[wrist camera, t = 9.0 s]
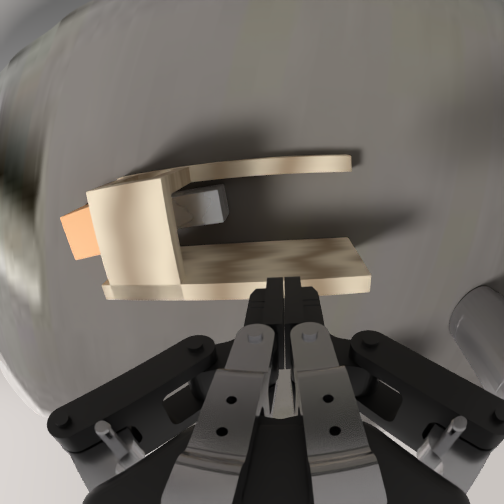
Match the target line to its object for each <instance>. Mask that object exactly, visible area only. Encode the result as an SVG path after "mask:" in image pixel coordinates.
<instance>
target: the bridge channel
mask: <svg viewBox="0 0 504 504" xmlns="http://www.w3.org/2000/svg"><path fill="white" fill-rule="evenodd" d="M313 172H352V170H351V155H347V154H343V155H302V156H282V157H267V158H254V159H242V160H232V161H222V162H214V163H205V164H197V165H190V166H183V167H176V168H169V169H163V170H157V171H151V172H145V173H139V174H134V175H129V176H124V177H121V178H118V180H116V181H113V182H111V183H108V184H105V185H103V186H100V187H98V188H95V189H92V190H90V191H87V192H86V195H87V200H88V205H89V209H90V214H91V218H92V222H93V227H94V231H95V235H96V239H97V242H98V246H99V250H100V253H101V257H102V260H103V264H104V267H105V270H106V274H107V277H108V280H107V281H106V282H105V283H104V284H103V285H102V287H103V290H104V293H105V296H106V299H110V300H235V299H249V298H250V294H251V293H252V292H253V291H254V290H255V289H260V288H266V283H267V278H270V277H283V287H284V277H294V276H300V279H301V287H309V286H312V287H313V288H314V289H315V290H316V291H317V292H318V295H319V296H323V295H337V294H351V293H363V292H370V283H371V274H370V272H369V271H368V269H367V267H366V266H365V264H364V262H363V261H362V259H361V257H360V256H359V254H358V253H357V251H356V249H355V248H354V246H353V245H352V243H351V241H350V240H349V238H348V237H341V238H321V239H302V240H283V241H265V242H247V243H230V244H213V245H197V246H181V247H180V244H179V238H178V233H177V227H176V222H175V216H174V210H173V204H172V198H171V194H172V193H174V192H175V191H177V190H179V189H180V188H182V187H184V186H185V185H187V184H189V183H190V182H197V181H205V180H215V179H225V178H235V177H247V176H259V175H274V174H291V173H313Z"/></svg>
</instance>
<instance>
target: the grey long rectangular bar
mask: <svg viewBox="0 0 504 504" xmlns="http://www.w3.org/2000/svg"><path fill="white" fill-rule="evenodd" d="M171 198H172V204H173V210H174V216H175V222H176V227H177V229H180V228H186V227H193V226H200V225H207V224H215V223H222V222H224V221H225V219H226V217H227V216H228V214H229V208H228V203H227V197H226V192H225V186H224V184H219V185H213V186H207V187H201V188H195V189H190V190H184V191H179V192H174V193H172V194H171Z"/></svg>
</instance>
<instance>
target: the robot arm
mask: <svg viewBox="0 0 504 504" xmlns="http://www.w3.org/2000/svg"><path fill="white" fill-rule="evenodd" d="M284 298H285V315H284ZM449 330H450V333H451V335H452V337H453V338H454V340H455V341H456V343H457V344H458V346H459V347H460V349H461V351H462V352H463V354H464V355H465V357H466V359H467V360H468V362H469V364H470V365H471V367H472V368H473V370H474V372H475V373H476V375H477V377H478V379H479V380H480V382H481V384H482V386H483V387H484V389H485V390H484V389H483V388H481V387H479V386H477V385H475V384H473V383H471V382H469V381H468V380H466V379H464V378H462V377H460V376H458V375H456V374H455V373H453V372H451V371H449V370H447V369H445V368H444V367H442V366H440V365H438V364H436V363H434V362H432V361H431V360H429V359H427V358H425V357H423V356H421V355H420V354H418V353H416V352H414V351H412V350H410V349H409V348H407V347H405V346H403V345H401V344H400V343H398V342H396V341H394V340H392V339H390V338H389V337H387V336H385V335H383V334H381V333H379V332H376V331H370V330H366V331H361V332H358V333H356V334H355V335H354V336H353V337H352V339H351V340H348V339H341V338H337V337H335V336H333V335H331V334H330V333H329V331H328V329H327V328H326V327H325V326H324V321H323V315H322V310H321V306H320V300H319V295H318V292H317V291H316V290H315V289H314V288H313V287H312V286H309V287H301V279H300V276H294V277H284V287H283V277H270V278H267V283H266V288H260V289H255V290H254V291H253V292H252V293H251V294H250V298H249V303H248V309H247V313H246V318H245V323H244V327H243V328H241V329H240V330H239V331H238V332H237V334H236V337H235V339H233V340H231V341H229V342H225V343H220V344H215V343H214V341H213V340H212V339H211V338H210V337H207V336H203V335H195V336H191V337H188V338H186V339H184V340H182V341H180V342H179V343H177V344H175V345H174V346H172V347H170V348H168V349H167V350H165V351H163V352H161V353H160V354H158V355H156V356H154V357H153V358H151V359H149V360H147V361H146V362H144V363H142V364H140V365H138V366H137V367H135V368H133V369H131V370H129V371H128V372H126V373H124V374H122V375H120V376H119V377H117V378H115V379H113V380H111V381H109V382H107V383H106V384H104V385H102V386H100V387H98V388H96V389H94V390H92V391H91V392H89V393H87V394H85V395H83V396H81V397H79V398H77V399H75V400H73V401H71V402H69V403H67V404H65V405H63V406H61V407H59V408H58V409H56V410H55V411H53V412H52V413H51V415H50V416H49V418H48V421H47V428H48V431H49V433H50V434H51V435H52V436H53V437H54V438H55V439H56V440H57V441H58V442H59V443H60V444H61V446H62V447H63V449H64V450H65V451H66V452H67V453H69V454H70V456H71V458H72V460H73V462H74V464H75V466H76V468H77V470H78V472H79V474H80V476H81V478H82V480H83V481H84V483H85V485H86V487H87V489H88V490H89V494H88V495H87V496H86V498H85V499H84V501H83V504H470V502H469V499H468V497H467V496H466V493H467V492H468V490H469V489H470V487H471V486H472V484H473V482H474V481H475V479H476V478H477V476H478V474H479V473H480V471H481V469H482V468H483V466H484V464H485V462H486V460H487V458H488V457H489V455H490V453H491V452H492V451H493V450H494V449H495V448H496V447H497V446H498V445H499V444H500V443H501V441H502V440H503V439H504V297H503V296H502V295H501V294H500V293H499V292H495V291H494V290H493V289H491V288H490V287H487V286H482V287H478V288H476V289H474V290H472V291H471V292H469V293H468V294H467V295H466V296H465V297H464V298H463V299H462V300H461V301H460V302H459V304H458V305H457V306H456V308H455V310H454V312H453V314H452V316H451V319H450V323H449ZM284 331H285V357H286V369H291V393H292V403H293V413H294V417H289V418H285V419H275V418H272V415H273V409H274V402H275V396H276V389H277V379H278V375H279V369H284ZM379 380H381V381H383V382H385V383H386V384H388V385H389V386H391V387H392V388H394V389H396V390H397V391H398V392H399V393H400V394H399V393H398V392H396V391H394V390H393V389H391V388H390V387H388V386H387V385H385V384H383V383H382V382H380V381H379ZM186 382H188V384H189V385H188V386H186V387H185V388H183V389H181V390H180V391H178V392H177V393H175V394H174V395H172V396H171V397H169V398H167V399H166V400H164V401H163V399H164V398H165V397H166V396H167V395H168V394H169V393H171V392H172V391H174V390H176V389H177V388H179V387H180V386H182V385H183V384H185V383H186ZM360 412H361V413H362V414H363V415H365V416H366V417H368V418H369V419H370V420H372V421H373V422H374V423H376V424H377V425H379V426H380V427H381V428H383V429H384V430H386V431H387V432H389V433H390V434H391V435H393V436H394V437H396V438H397V439H399V440H400V441H402V442H403V443H405V444H406V445H408V446H409V447H410V448H412V449H413V450H415V451H416V452H417V458H416V457H415V456H413V455H412V454H410V453H409V452H408V451H406V450H405V449H403V448H402V447H401V446H400V445H398V444H397V443H396V442H394V441H393V440H392V439H390V438H389V437H387V436H386V435H385V434H384V433H382V432H381V431H380V430H379V429H377V428H376V427H374V426H372V425H370V424H368V423H366V422H363V421H362V419H361V416H360ZM195 422H196V424H195V425H193V424H194V423H195ZM191 425H193V426H191ZM190 426H191V427H190ZM188 427H189V428H188ZM179 433H180V434H179ZM176 435H177V436H176ZM173 437H174V438H173ZM172 438H173V439H172ZM170 439H171V440H170ZM169 440H170V441H169ZM167 441H168V442H167ZM166 442H167V443H166ZM164 443H165V444H164ZM162 444H164V445H162ZM161 445H162V446H161ZM159 446H161V447H160V448H158V447H159ZM156 448H158V449H157V450H155V449H156ZM153 450H155V451H154V452H152V453H151V454H149V455H148V456H146V457H145V455H146V454H148V453H150V452H151V451H153Z"/></svg>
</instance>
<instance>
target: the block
mask: <svg viewBox="0 0 504 504" xmlns="http://www.w3.org/2000/svg"><path fill="white" fill-rule="evenodd" d="M60 219H61V222H62V225H63V228H64V231H65V233H66V236H67V239H68V242H69V244H70V247H71V250H72V252H73V255H74V257H75V260H79V259H83V258H87V257H91V256H96V255H100V254H101V253H100V250H99V246H98V242H97V239H96V235H95V231H94V227H93V222H92V218H91V214H90V209H89V205H88V204H87V205H85V206H83V207H80V208H78V209H76V210H74V211H72V212H70V213H68V214H66V215H64V216H62V217H60Z"/></svg>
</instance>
